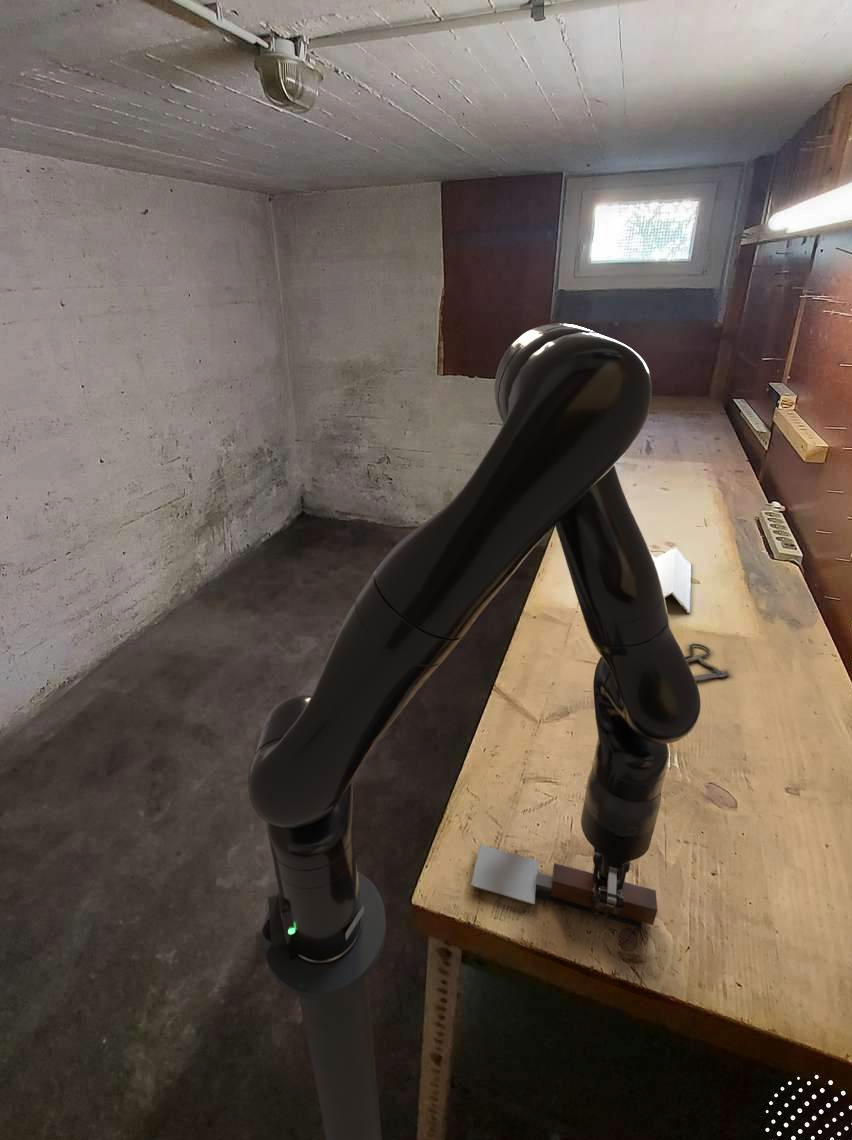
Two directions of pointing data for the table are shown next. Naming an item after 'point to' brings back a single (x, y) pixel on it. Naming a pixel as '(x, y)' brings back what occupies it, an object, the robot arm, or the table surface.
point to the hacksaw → (699, 658)
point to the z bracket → (674, 576)
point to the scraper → (553, 883)
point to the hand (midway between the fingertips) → (600, 899)
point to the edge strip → (583, 907)
